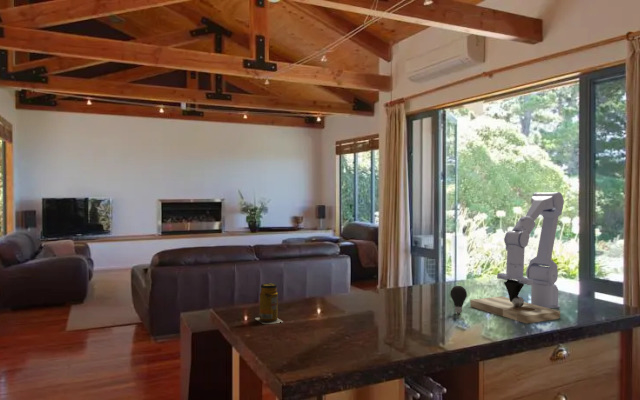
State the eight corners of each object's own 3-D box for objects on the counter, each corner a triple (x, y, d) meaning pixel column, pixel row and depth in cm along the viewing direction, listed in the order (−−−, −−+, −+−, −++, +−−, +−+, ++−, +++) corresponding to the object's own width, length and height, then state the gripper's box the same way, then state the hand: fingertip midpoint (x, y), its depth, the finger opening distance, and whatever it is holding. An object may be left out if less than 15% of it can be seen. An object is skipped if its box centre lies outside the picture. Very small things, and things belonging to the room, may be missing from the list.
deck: (501, 302, 182) (501, 296, 182) (560, 318, 158) (560, 311, 158) (470, 306, 175) (470, 299, 175) (526, 323, 152) (526, 315, 152)
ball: (526, 308, 163) (515, 308, 166) (526, 296, 164) (515, 297, 167) (520, 306, 161) (509, 306, 164) (520, 294, 162) (509, 295, 165)
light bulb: (467, 316, 161) (467, 287, 160) (451, 315, 162) (451, 286, 162) (465, 312, 166) (466, 284, 166) (449, 311, 167) (449, 284, 167)
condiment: (274, 316, 159) (275, 281, 159) (283, 322, 151) (284, 286, 151) (254, 318, 156) (254, 283, 155) (262, 325, 148) (262, 288, 148)
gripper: (491, 261, 170) (489, 298, 170) (523, 267, 157) (521, 306, 157) (505, 261, 173) (504, 297, 173) (538, 267, 160) (536, 306, 160)
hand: (513, 301), depth 165 cm, fingers closed, pressing on ball
